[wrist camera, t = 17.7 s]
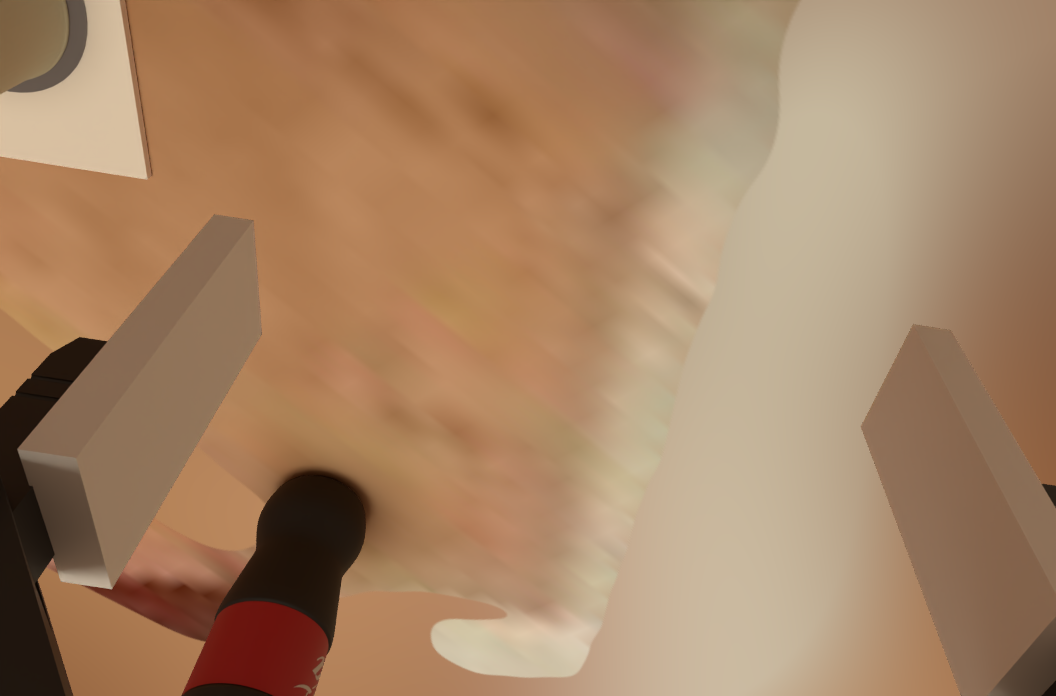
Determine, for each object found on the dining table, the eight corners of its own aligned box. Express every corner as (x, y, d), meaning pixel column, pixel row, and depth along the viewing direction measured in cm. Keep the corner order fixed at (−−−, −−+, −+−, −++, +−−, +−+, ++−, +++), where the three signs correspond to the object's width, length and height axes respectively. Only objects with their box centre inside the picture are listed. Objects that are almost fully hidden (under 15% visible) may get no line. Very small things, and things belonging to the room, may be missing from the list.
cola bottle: (284, 533, 72) (120, 932, 48) (262, 463, 67) (67, 869, 43) (379, 537, 71) (262, 943, 47) (364, 466, 66) (225, 881, 42)
